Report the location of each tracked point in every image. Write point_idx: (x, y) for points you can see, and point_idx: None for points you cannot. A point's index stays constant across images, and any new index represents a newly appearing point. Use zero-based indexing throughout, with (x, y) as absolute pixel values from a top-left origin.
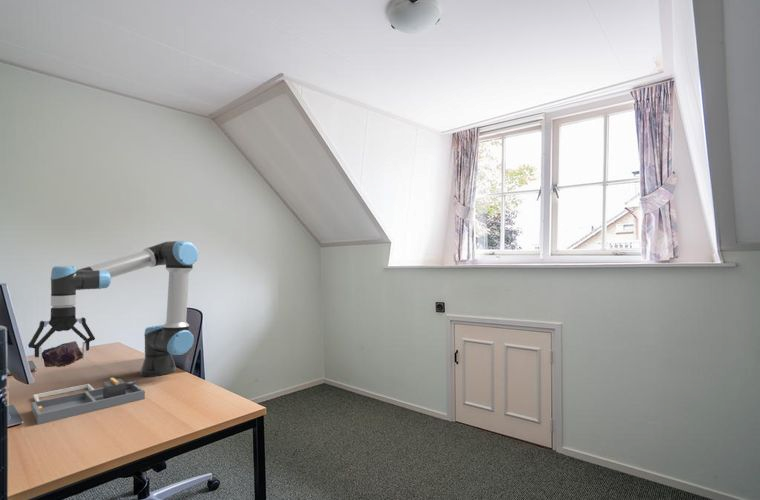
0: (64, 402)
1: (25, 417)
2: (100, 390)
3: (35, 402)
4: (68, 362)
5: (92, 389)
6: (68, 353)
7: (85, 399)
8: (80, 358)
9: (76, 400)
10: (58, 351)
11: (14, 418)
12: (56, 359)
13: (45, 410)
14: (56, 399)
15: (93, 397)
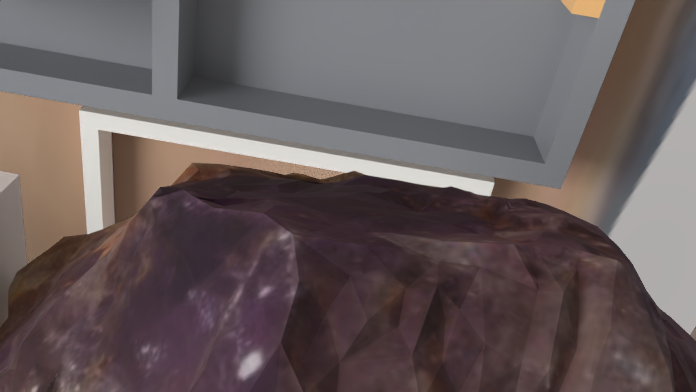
0: (340, 104)
1: (642, 40)
2: (51, 69)
3: (545, 164)
4: (294, 180)
5: (100, 225)
6: (290, 218)
7: (196, 39)
8: (52, 248)
9: (257, 80)
10: (603, 359)
11: (689, 92)
12: (573, 217)
13: (511, 28)
14: (396, 131)
15: (132, 36)
